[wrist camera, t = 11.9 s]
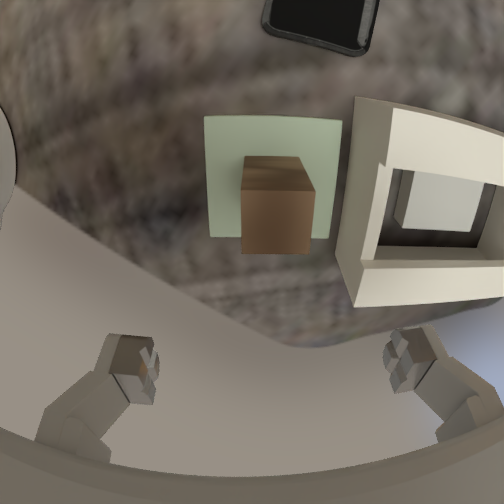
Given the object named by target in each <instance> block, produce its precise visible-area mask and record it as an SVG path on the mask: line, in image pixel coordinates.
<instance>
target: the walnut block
mask: <svg viewBox="0 0 504 504" xmlns="http://www.w3.org/2000/svg"><path fill="white" fill-rule="evenodd" d="M315 195H316V191H315V189H314V187H313V185H312V183H311V180H310V178H309V176H308V174H307V172H306V170H305V168H304V166H303V164H302V162H301V160H300V158H299V157H291V156H245V157H244V165H243V174H242V182H241V247H242V254H309V251H310V242H311V234H312V225H313V215H314V205H315Z"/></svg>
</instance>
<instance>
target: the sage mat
mask: <svg viewBox="0 0 504 504" xmlns="http://www.w3.org/2000/svg"><path fill="white" fill-rule="evenodd" d="M341 131H342V120H338V119H327V118H315V117H300V116H279V115H209V116H204V135H205V159H206V179H207V197H208V214H209V229H210V237H241V182H242V174H243V165H244V157H245V156H291V157H299V158H300V160H301V162H302V164H303V166H304V168H305V170H306V172H307V174H308V176H309V178H310V180H311V183H312V185H313V187H314V189H315V191H316V195H315V205H314V215H313V225H312V234H311V238H329V231H330V225H331V218H332V211H333V203H334V196H335V188H336V179H337V171H338V162H339V152H340V142H341Z"/></svg>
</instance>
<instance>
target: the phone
mask: <svg viewBox="0 0 504 504" xmlns="http://www.w3.org/2000/svg"><path fill="white" fill-rule="evenodd" d="M379 1H380V0H266V4H265V8H264V12H263V17H262V26H263V28H264V30H265V31H266V32H267V33H269V34H270V35H273V36H276V37H280V38H285V39H289V40H294V41H298V42H302V43H306V44H310V45H313V46H317V47H321V48H324V49H328V50H331V51H334V52H337V53H341V54H344V55H347V56H351V57H356V56H362V55H364V54H365V53H366V52H367V51H368V49H369V47H370V42H371V38H372V34H373V29H374V25H375V20H376V15H377V11H378V6H379Z"/></svg>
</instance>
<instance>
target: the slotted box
mask: <svg viewBox="0 0 504 504" xmlns="http://www.w3.org/2000/svg"><path fill="white" fill-rule="evenodd" d="M393 168H396V169H403V173H402V179H401V184H400V189H399V194H398V199H397V203H396V208H395V212H394V219H395V220H396V221H397V222H398V224H399V225H400V226H401V227H402V228H410V229H430V230H448V231H464V232H470V229H471V226H472V223H473V220H474V217H475V214H476V211H477V207H478V204H479V200H480V197H481V193H482V190H483V186H484V182H485V183H490V184H495V185H497V186H496V190H495V193H494V197H493V200H492V204H491V207H490V210H489V214H488V217H487V220H486V223H485V226H484V229H483V232H482V235H481V237H480V240H479V243H478V245H477V248H457V247H415V246H377V243H378V239H379V235H380V231H381V227H382V222H383V218H384V213H385V208H386V203H387V198H388V193H389V188H390V183H391V177H392V172H393ZM335 257H336V259H337V262H338V265H339V267H340V270H341V273H342V276H343V278H344V281H345V284H346V287H347V290H348V292H349V295H350V298H351V301H352V304H353V307H374V306H394V305H411V304H426V303H440V302H452V301H463V300H474V299H484V298H493V297H502V296H504V133H503V132H500V131H498V130H495V129H492V128H489V127H486V126H483V125H480V124H477V123H474V122H471V121H467V120H464V119H461V118H457V117H454V116H450V115H447V114H443V113H439V112H435V111H431V110H427V109H423V108H418V107H414V106H409V105H404V104H399V103H394V102H389V101H383V100H377V99H371V98H365V97H358V96H355V100H354V113H353V124H352V135H351V144H350V153H349V162H348V170H347V178H346V186H345V193H344V200H343V207H342V213H341V220H340V226H339V232H338V238H337V244H336V250H335Z"/></svg>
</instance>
